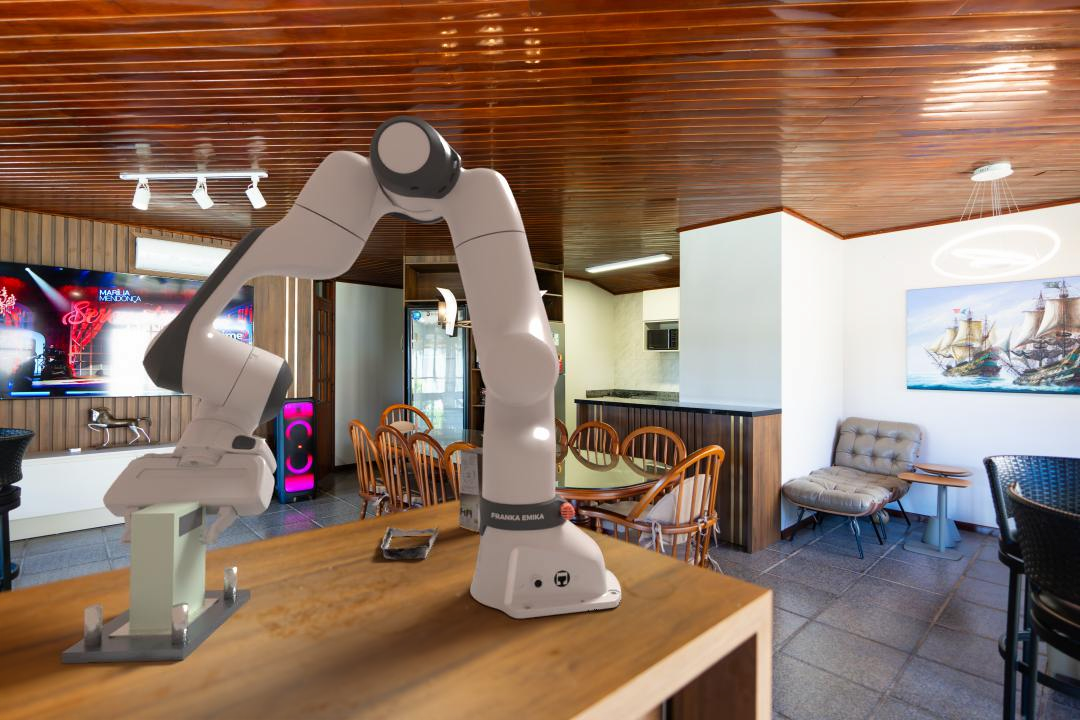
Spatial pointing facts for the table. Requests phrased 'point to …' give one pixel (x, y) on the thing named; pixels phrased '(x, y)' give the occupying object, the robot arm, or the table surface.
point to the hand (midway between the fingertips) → (167, 543)
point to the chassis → (156, 643)
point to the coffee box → (470, 487)
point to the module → (166, 562)
